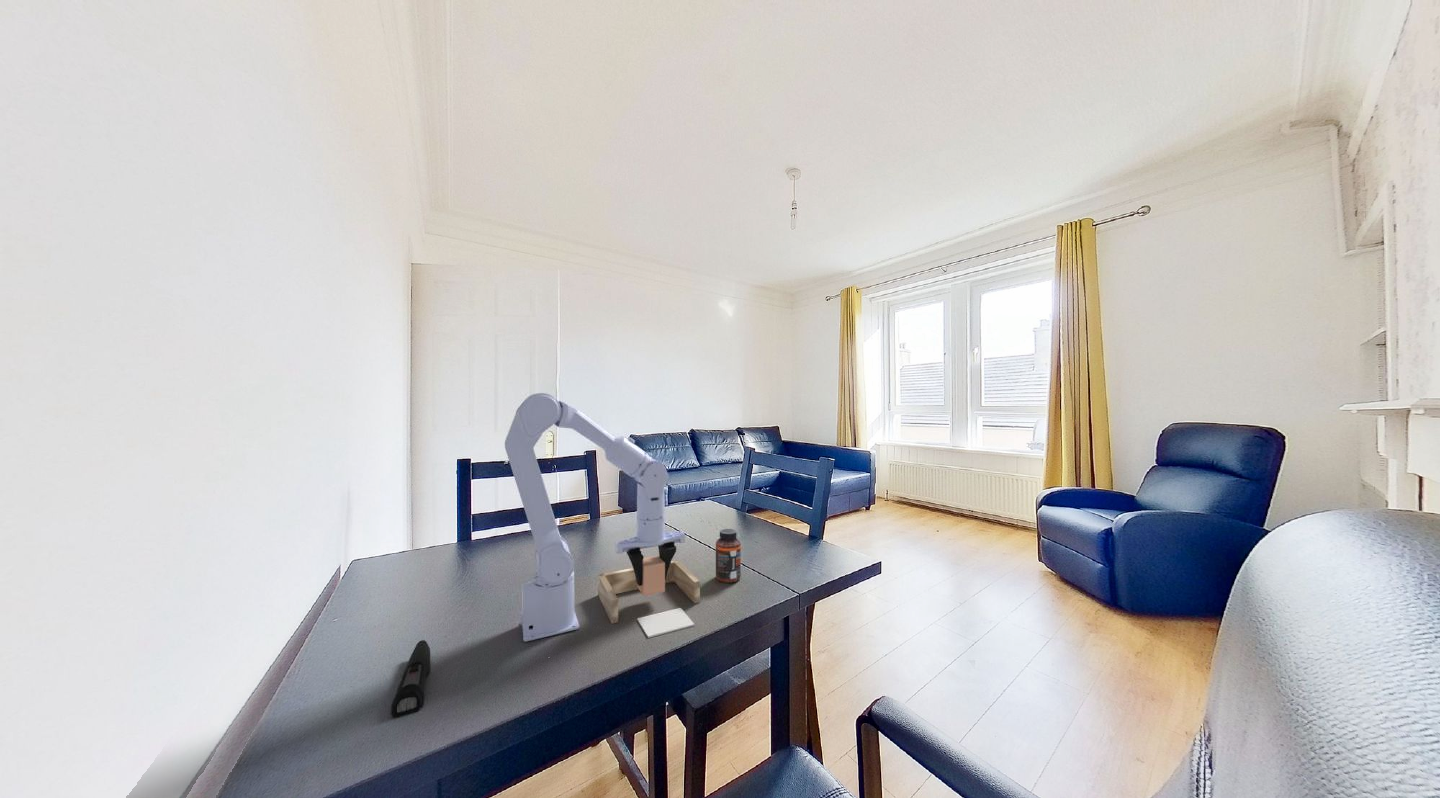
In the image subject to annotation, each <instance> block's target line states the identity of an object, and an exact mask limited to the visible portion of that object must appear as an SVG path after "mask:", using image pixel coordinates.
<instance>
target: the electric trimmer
mask: <svg viewBox="0 0 1440 798" xmlns="http://www.w3.org/2000/svg"><path fill="white" fill-rule="evenodd" d="M430 672H431V647H430V645H429V644H428V641H426V640H425V639H421V640H420V641H418V642H417V643H416V645H415V647H414V649H413V651H412V653H411V655H410V658H409V659H408V661H407V664H406V667H405V668H404V670H403V673H402V675H401V680H400V683H399V685H398V686H397V687H398V688H397V690H396V693H395V695H394V697H393V701H392V702H391V708H390V710H391V711H390V713H391V716H392V718H393V719H397V718H398V719H399V718H400V717H401V718H402V717H404V716H407V715H411V714H415V713H418V712H419V711H420V710H421V709H422V708H423V706H424V703H425V692H424V688H425V681H426V676H428V675H429V674H430Z"/></svg>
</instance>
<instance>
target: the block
mask: <svg viewBox="0 0 1440 798" xmlns="http://www.w3.org/2000/svg"><path fill="white" fill-rule="evenodd" d="M642 577H643V582H642V586H639V585H638V589H637V590H639V591H640V593H641V595H642V596H643V597H646V596H651V595H655V594H661V593H664V592H666V583H665V562H664V561H663V560H662V559H661V558H660V557H659V555H654V556H647V557H643V566H642Z"/></svg>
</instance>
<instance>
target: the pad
mask: <svg viewBox="0 0 1440 798" xmlns="http://www.w3.org/2000/svg"><path fill="white" fill-rule="evenodd" d="M636 620H637V622H638V624H639V626H640V627H641V628H642V630H643V631H644V633H645V635H646V637H647V638H648V639H650V638H653V637H658V636H661V635H665V634H669V633H672V632H676V631H680V630H683V629H688V628H691V627H694V626H695V623H694V622H693V621H692V619H691V618H690V617H689V616H688V614H686V613H685V611H684V610H683V608H681V607H678V608H674V609H669V610H666V611H662V612H659V613H654V614H650V615H646V616H642V617H638V618H636Z"/></svg>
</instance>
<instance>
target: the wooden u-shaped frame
mask: <svg viewBox="0 0 1440 798" xmlns="http://www.w3.org/2000/svg"><path fill="white" fill-rule="evenodd" d="M673 582H674V583H675V584H676V585H677V586H678V587H679V588H680V589H681V591H682V592H683V593H684V594H685V595H686V596H687V597H688V598H689V600H691V602H693V603H694V604H698V603H701V581H700V579H698V578H697V577H696V576H695V575H694V574H693V573H692V572H691V571H690V570H689V569H688V568H687V567H686V566H685V565H683V564H682V563H681V562H680V561H679V560H678V559H674V560H673V559H672V560H671V563H670V565H669V569H668V572H667V577H666V580H665V584H669V583H673ZM636 590H639V589H638V584H637V583H636V577H635V572H634V569H633V567H631V568H627V569H625V568H624V569H620V570H616V571H610V572H605V573H600V574H599V573H598V574H597V595H598V598H599V600H600V602H601V604H602V606H603V608H604V611H605V612H606V615H607V616H608V619H609V620H610V623H611V624H616V623H619V597H618V596H617V595H618V594H621V593H626V592H631V591H636ZM616 594H617V595H616Z"/></svg>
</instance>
